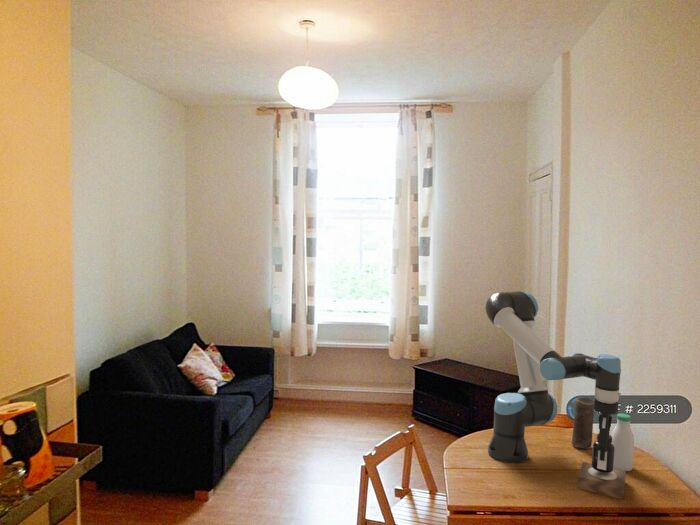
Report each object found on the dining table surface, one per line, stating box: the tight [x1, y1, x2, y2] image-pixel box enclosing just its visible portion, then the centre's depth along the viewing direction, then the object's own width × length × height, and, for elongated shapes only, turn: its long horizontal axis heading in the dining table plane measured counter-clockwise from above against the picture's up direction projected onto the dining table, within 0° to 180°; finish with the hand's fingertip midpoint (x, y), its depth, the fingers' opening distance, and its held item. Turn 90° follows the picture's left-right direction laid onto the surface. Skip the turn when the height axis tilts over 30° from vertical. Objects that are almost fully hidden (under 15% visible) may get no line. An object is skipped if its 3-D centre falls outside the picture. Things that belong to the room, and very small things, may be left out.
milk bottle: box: [611, 413, 635, 472], centre depth 197 cm, size 8×8×20 cm
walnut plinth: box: [577, 461, 627, 500], centre depth 183 cm, size 14×14×4 cm
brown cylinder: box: [571, 396, 595, 450], centre depth 215 cm, size 8×7×20 cm
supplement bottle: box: [591, 432, 615, 473], centre depth 182 cm, size 7×7×12 cm
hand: (602, 464), depth 183 cm, fingers closed on supplement bottle, 7 cm apart
